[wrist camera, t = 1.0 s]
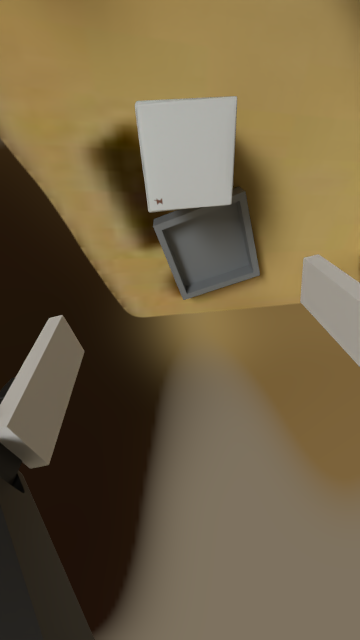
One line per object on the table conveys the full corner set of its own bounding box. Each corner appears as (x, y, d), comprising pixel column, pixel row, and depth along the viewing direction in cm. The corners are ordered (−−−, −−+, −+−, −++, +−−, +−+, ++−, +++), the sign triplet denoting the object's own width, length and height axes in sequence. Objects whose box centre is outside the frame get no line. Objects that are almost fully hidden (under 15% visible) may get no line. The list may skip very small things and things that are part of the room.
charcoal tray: (239, 186, 32) (245, 191, 30) (254, 266, 39) (260, 275, 37) (153, 219, 34) (153, 226, 32) (182, 289, 41) (183, 300, 39)
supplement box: (210, 182, 32) (232, 208, 22) (151, 186, 32) (146, 214, 22) (212, 105, 27) (240, 93, 17) (143, 110, 27) (131, 100, 17)
